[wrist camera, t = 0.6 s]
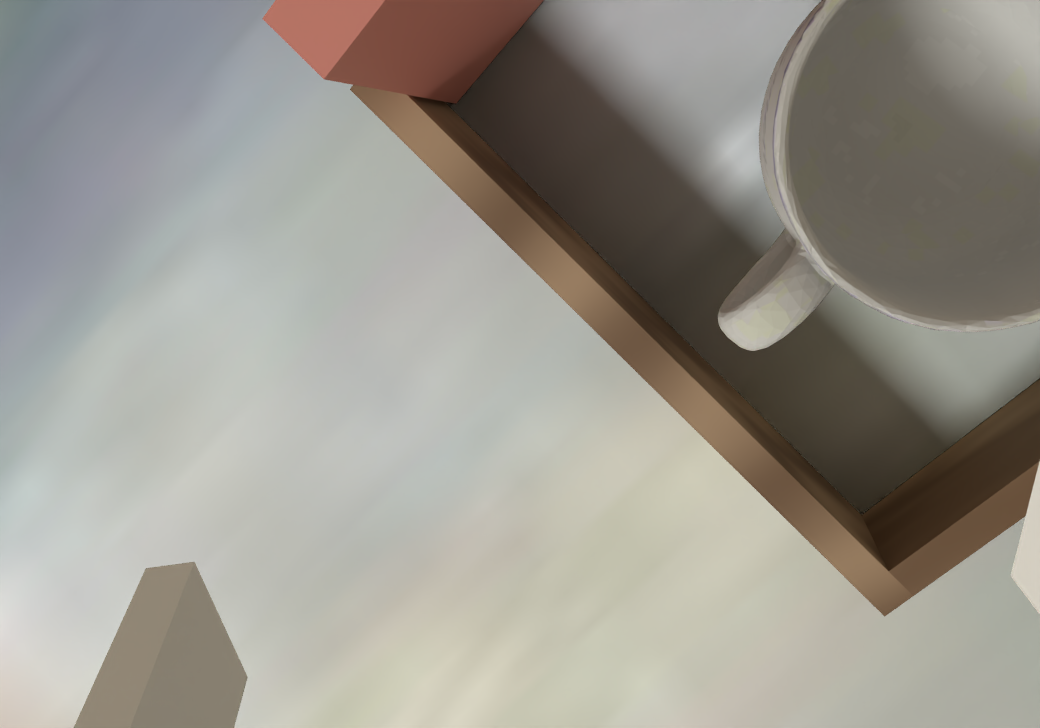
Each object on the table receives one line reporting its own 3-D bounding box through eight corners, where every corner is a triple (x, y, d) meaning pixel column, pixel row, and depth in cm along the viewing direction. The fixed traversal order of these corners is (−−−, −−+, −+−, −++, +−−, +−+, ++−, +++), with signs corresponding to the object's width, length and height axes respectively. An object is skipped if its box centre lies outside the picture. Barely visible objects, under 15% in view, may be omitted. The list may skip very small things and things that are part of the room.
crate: (1369, 171, 26) (1501, 176, 22) (858, 554, 33) (884, 616, 29) (813, -417, 25) (839, -530, 21) (394, 96, 32) (350, 89, 27)
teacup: (980, -110, 27) (1100, -213, 19) (1146, 174, 28) (1321, 185, 20) (617, 149, 31) (595, 150, 23) (774, 388, 32) (802, 463, 24)
